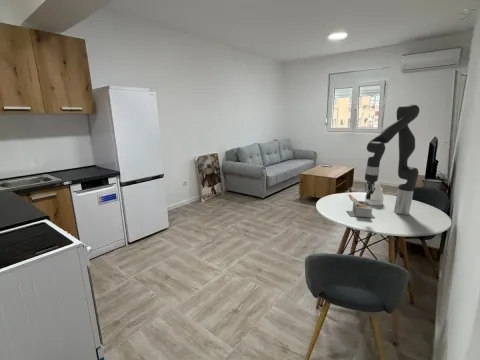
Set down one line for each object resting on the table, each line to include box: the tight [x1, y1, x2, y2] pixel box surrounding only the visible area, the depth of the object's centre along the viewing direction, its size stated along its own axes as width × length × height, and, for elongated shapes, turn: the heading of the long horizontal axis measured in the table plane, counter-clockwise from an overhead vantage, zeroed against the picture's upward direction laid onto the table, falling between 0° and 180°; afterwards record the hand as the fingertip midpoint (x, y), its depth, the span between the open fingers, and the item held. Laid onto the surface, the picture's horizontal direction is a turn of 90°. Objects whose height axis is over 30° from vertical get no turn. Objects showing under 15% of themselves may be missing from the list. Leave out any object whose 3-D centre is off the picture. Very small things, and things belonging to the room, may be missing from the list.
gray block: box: [346, 210, 376, 219], centre depth 179 cm, size 10×16×1 cm, turn 82°
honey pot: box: [364, 181, 385, 206], centre depth 204 cm, size 13×13×18 cm
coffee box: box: [352, 200, 373, 219], centre depth 180 cm, size 9×6×16 cm
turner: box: [348, 194, 358, 202], centre depth 216 cm, size 15×4×1 cm, turn 172°
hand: (368, 199), depth 169 cm, fingers closed
